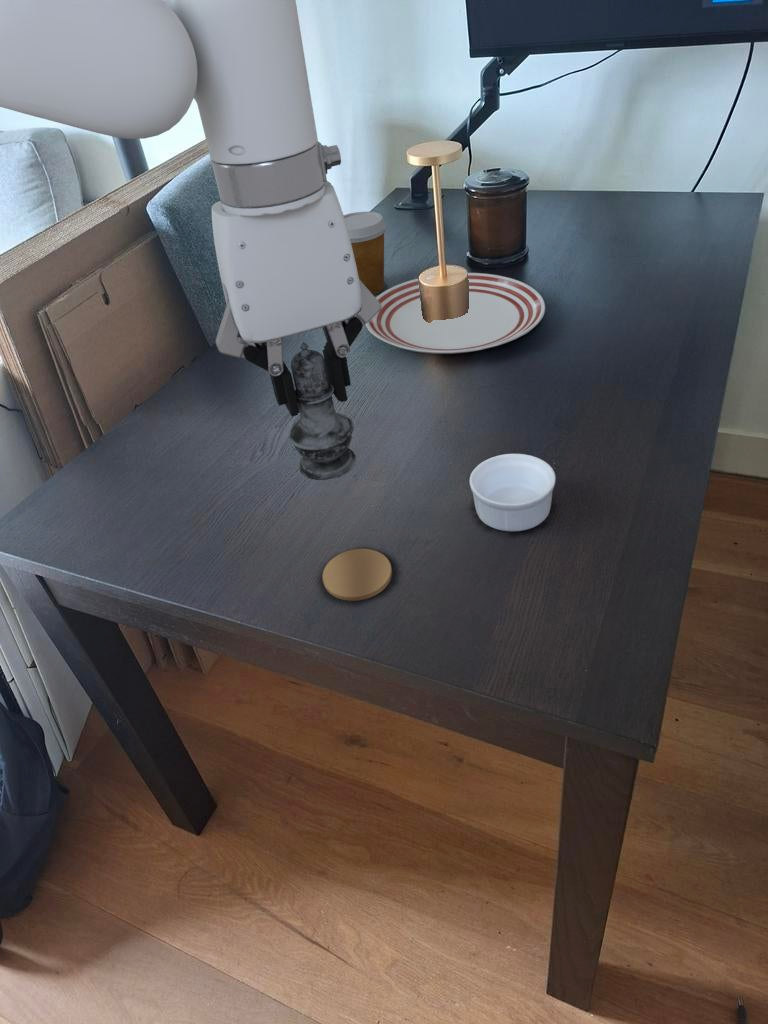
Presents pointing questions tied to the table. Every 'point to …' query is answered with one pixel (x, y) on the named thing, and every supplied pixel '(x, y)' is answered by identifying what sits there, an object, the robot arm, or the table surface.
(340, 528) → the table surface
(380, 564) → the coaster
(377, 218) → the disposable coffee cup
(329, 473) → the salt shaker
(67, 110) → the robot arm
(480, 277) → the dinner plate
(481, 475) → the ramekin
